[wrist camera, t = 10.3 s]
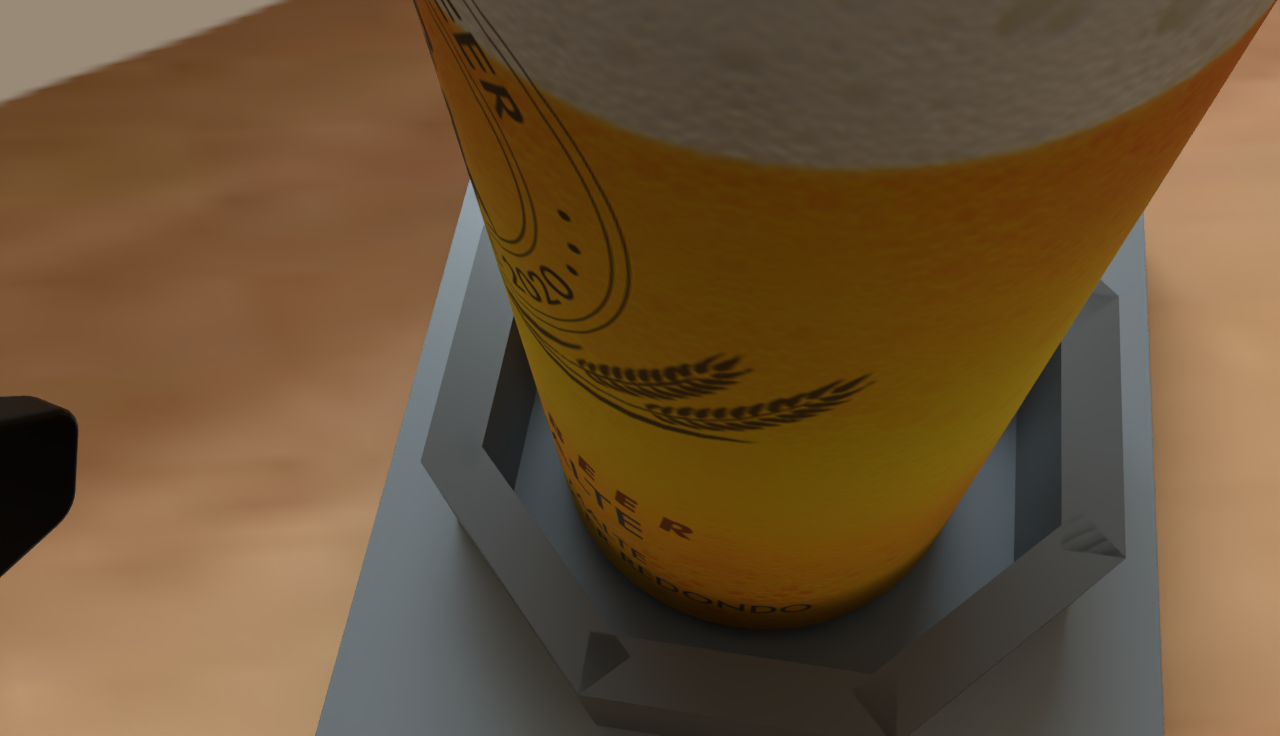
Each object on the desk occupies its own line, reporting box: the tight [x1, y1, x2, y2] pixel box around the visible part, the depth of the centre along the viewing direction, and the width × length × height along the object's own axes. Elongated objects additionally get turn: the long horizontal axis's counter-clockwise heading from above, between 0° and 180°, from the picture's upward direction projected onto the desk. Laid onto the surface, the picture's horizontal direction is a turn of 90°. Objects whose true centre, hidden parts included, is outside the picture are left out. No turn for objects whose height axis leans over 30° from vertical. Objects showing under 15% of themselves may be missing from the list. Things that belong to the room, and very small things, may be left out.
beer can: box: [413, 0, 1277, 629], centre depth 11 cm, size 6×6×15 cm
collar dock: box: [315, 180, 1164, 736], centre depth 17 cm, size 12×12×4 cm
